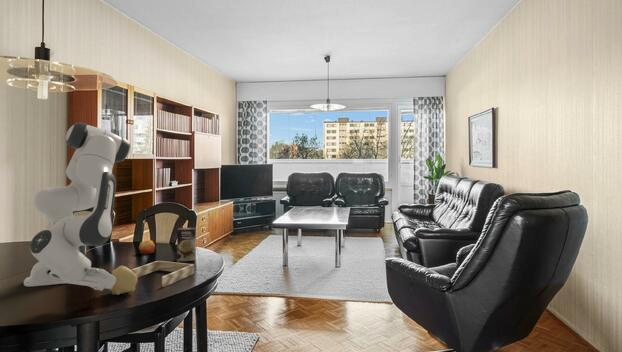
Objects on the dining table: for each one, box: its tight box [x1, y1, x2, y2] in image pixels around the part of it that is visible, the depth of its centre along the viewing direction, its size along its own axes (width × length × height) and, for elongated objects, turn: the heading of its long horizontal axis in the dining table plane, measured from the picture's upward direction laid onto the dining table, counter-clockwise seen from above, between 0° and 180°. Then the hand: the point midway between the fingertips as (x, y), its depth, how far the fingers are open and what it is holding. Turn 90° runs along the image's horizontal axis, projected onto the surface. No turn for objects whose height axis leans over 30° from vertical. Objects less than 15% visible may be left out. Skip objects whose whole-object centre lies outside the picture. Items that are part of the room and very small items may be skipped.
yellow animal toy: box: [108, 265, 139, 296], centre depth 137 cm, size 10×12×11 cm
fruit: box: [138, 239, 156, 255], centre depth 201 cm, size 8×8×8 cm
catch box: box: [130, 260, 196, 288], centre depth 157 cm, size 20×20×4 cm
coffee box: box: [176, 227, 197, 263], centre depth 187 cm, size 9×6×16 cm
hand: (100, 288), depth 129 cm, fingers closed
